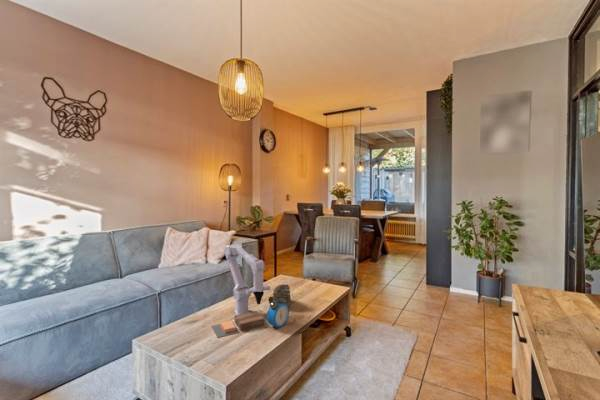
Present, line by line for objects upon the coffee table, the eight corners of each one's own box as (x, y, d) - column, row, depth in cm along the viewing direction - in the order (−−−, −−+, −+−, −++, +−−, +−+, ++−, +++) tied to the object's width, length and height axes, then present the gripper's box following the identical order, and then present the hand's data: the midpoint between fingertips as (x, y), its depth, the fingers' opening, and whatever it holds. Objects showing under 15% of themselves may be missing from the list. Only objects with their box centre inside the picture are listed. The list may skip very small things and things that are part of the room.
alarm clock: (274, 331, 162) (274, 304, 161) (266, 328, 166) (266, 302, 165) (289, 322, 172) (289, 297, 171) (281, 319, 176) (281, 295, 175)
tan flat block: (234, 322, 172) (234, 315, 172) (256, 317, 179) (256, 310, 179) (240, 331, 162) (241, 324, 161) (264, 325, 169) (264, 318, 168)
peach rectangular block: (230, 320, 169) (230, 323, 169) (220, 322, 166) (220, 326, 167) (235, 327, 162) (235, 330, 162) (224, 329, 159) (224, 333, 159)
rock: (295, 281, 196) (273, 277, 194) (293, 302, 186) (269, 298, 185) (290, 291, 210) (269, 288, 208) (288, 312, 200) (266, 308, 199)
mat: (211, 326, 167) (211, 326, 167) (232, 321, 172) (232, 321, 172) (217, 337, 154) (217, 337, 154) (239, 332, 160) (239, 331, 160)
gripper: (248, 285, 166) (249, 308, 167) (272, 281, 173) (272, 303, 174) (244, 281, 172) (245, 304, 173) (267, 277, 180) (267, 299, 180)
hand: (258, 303), depth 174 cm, fingers closed
